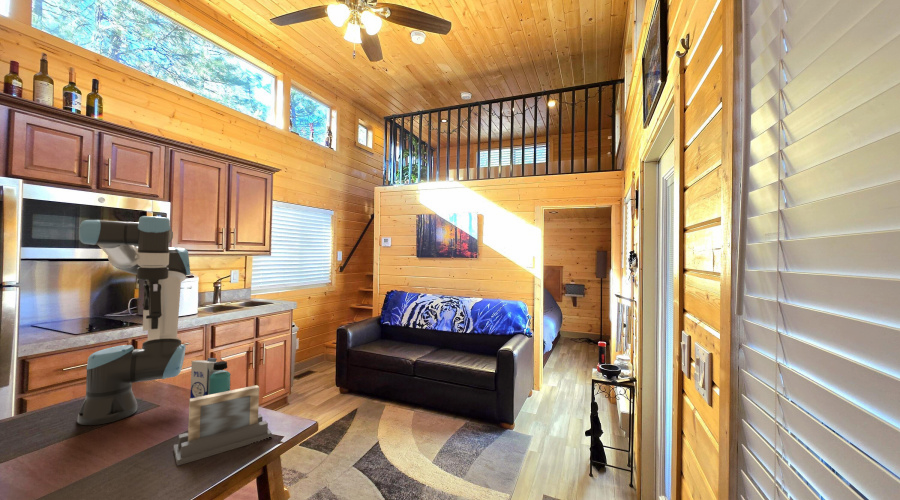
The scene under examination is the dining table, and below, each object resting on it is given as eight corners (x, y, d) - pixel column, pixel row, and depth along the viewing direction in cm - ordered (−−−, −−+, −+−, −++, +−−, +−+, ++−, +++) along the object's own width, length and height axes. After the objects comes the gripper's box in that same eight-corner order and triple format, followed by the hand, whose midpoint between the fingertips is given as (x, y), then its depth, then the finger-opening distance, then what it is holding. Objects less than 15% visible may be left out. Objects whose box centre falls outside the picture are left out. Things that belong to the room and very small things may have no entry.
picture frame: (255, 428, 117) (257, 385, 117) (257, 431, 115) (259, 387, 115) (187, 446, 105) (189, 398, 105) (188, 450, 103) (190, 401, 103)
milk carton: (189, 417, 126) (191, 360, 126) (206, 409, 132) (208, 355, 133) (205, 420, 124) (207, 362, 124) (222, 411, 131) (224, 357, 131)
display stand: (262, 425, 122) (263, 412, 122) (271, 437, 114) (272, 423, 114) (173, 450, 105) (174, 434, 106) (177, 465, 98) (177, 449, 98)
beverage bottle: (218, 425, 121) (221, 365, 121) (202, 423, 122) (204, 364, 122) (234, 416, 127) (236, 360, 127) (218, 414, 129) (220, 358, 129)
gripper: (133, 263, 117) (131, 327, 118) (141, 270, 100) (138, 346, 100) (162, 263, 123) (160, 325, 123) (175, 269, 105) (172, 341, 105)
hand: (150, 334), depth 112 cm, fingers open, 13 cm apart
